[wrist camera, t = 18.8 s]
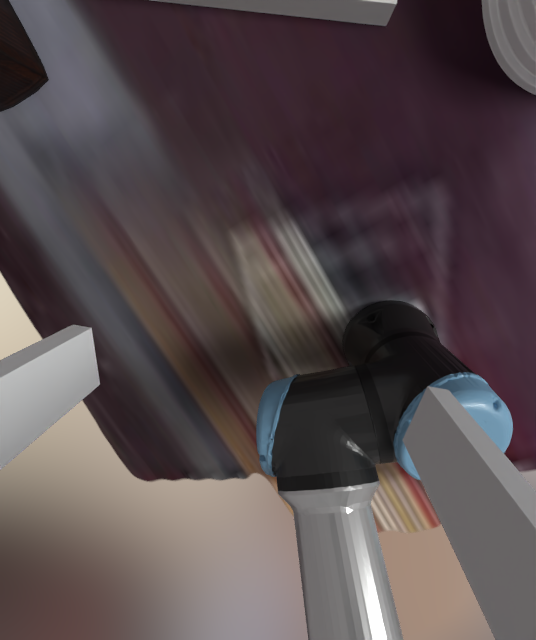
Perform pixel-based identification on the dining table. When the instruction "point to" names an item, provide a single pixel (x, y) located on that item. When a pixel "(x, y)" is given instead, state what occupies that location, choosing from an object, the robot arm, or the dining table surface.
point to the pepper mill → (17, 60)
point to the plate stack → (513, 38)
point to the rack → (310, 8)
